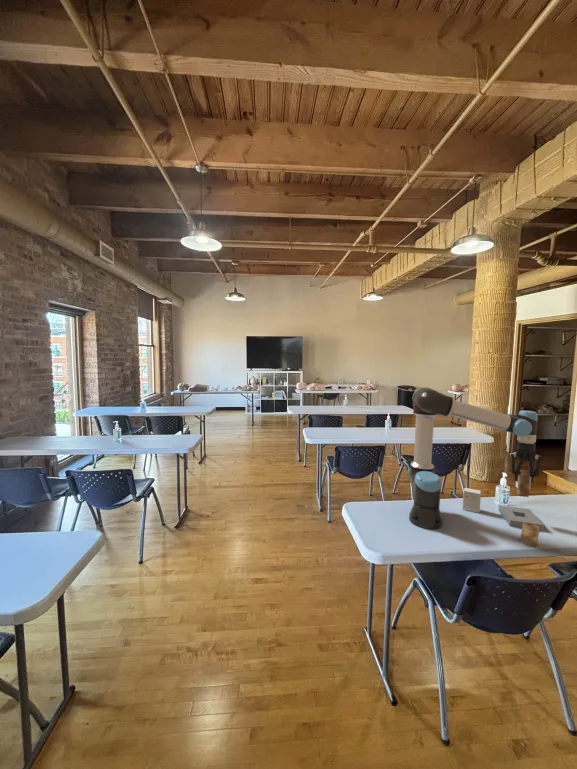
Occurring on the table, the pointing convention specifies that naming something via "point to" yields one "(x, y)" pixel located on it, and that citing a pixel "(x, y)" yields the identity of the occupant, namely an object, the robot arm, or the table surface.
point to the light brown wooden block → (529, 534)
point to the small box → (471, 500)
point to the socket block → (519, 516)
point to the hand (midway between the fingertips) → (522, 487)
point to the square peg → (524, 483)
